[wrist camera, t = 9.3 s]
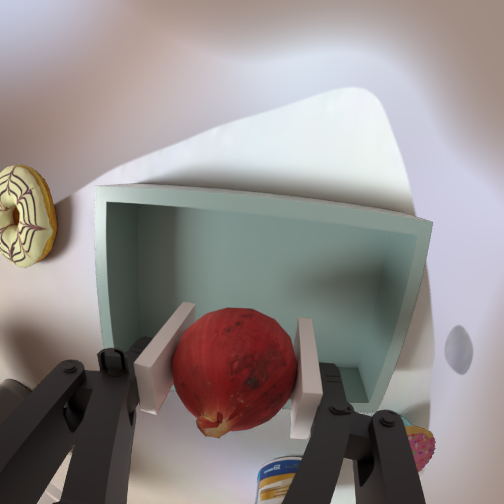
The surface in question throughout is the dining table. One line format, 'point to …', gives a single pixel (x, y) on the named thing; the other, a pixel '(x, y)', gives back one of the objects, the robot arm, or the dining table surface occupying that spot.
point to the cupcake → (420, 443)
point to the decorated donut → (25, 216)
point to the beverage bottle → (275, 479)
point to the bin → (263, 270)
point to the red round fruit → (234, 370)
